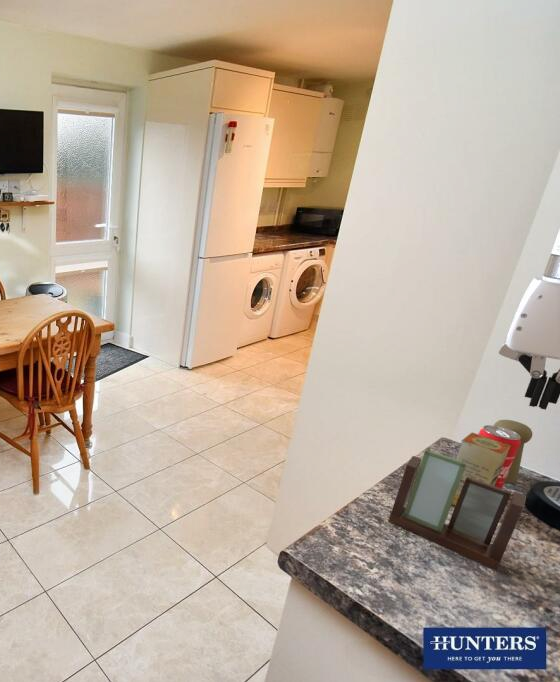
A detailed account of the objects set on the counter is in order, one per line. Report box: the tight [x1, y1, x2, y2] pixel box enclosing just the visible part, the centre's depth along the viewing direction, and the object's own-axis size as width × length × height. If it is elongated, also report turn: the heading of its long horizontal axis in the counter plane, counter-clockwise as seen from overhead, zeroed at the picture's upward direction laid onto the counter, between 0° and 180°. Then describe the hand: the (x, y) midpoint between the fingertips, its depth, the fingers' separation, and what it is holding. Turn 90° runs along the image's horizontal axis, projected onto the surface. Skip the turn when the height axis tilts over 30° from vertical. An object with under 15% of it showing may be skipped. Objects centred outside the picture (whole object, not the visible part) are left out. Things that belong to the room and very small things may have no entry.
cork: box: [492, 419, 533, 484], centre depth 85 cm, size 6×6×11 cm
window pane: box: [403, 448, 467, 532], centre depth 69 cm, size 5×1×12 cm, turn 41°
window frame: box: [388, 455, 527, 571], centre depth 68 cm, size 13×4×11 cm, turn 41°
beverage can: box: [477, 424, 521, 489], centre depth 80 cm, size 5×5×12 cm
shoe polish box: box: [452, 431, 511, 507], centre depth 76 cm, size 5×5×12 cm
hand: (538, 404), depth 61 cm, fingers closed
